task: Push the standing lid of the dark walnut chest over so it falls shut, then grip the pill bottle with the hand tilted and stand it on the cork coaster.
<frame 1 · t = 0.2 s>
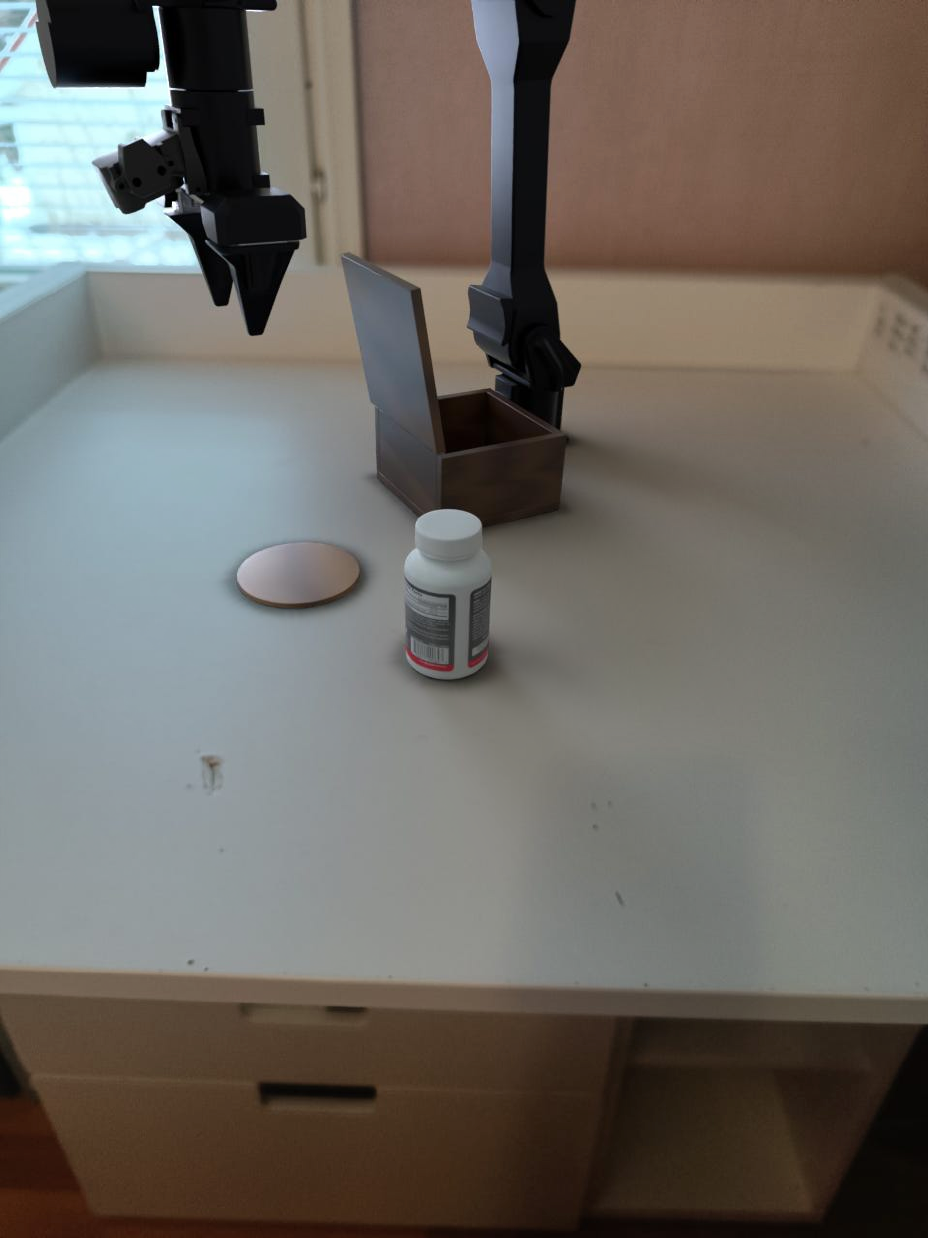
hand: (237, 319, 69), 15 cm above the table, tool pointing down, fingers open, 9 cm apart
chest: (465, 493, 78), on the table
pill bottle: (446, 659, 57), on the table
coaster: (299, 575, 65), on the table
chest lid: (392, 351, 67), point 13 cm above the table, hinge at 100.0°
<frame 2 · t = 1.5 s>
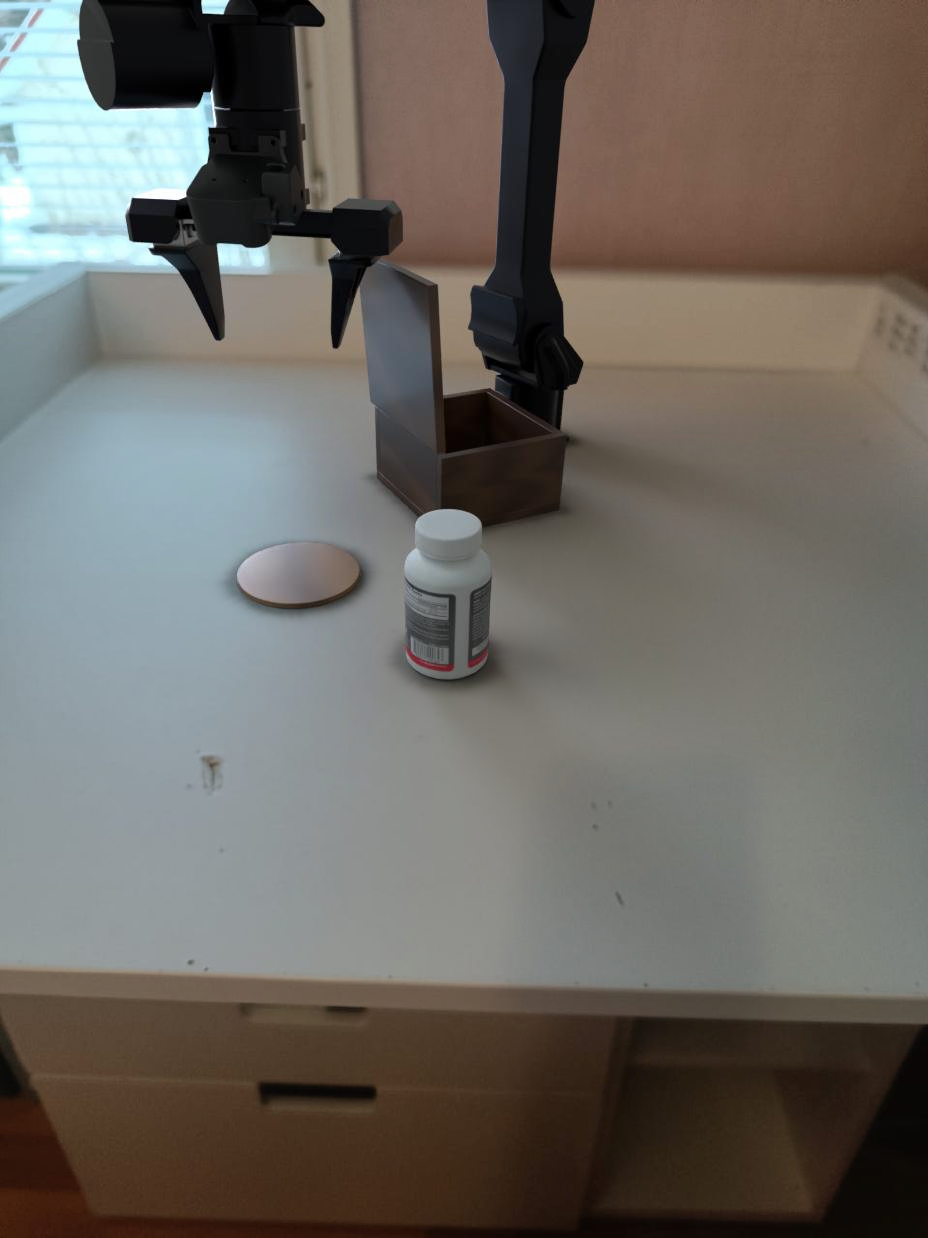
hand: (278, 343, 67), 14 cm above the table, tool pointing down, fingers open, 9 cm apart
chest lid: (400, 349, 68), point 13 cm above the table, hinge at 93.8°
everything else where it was.
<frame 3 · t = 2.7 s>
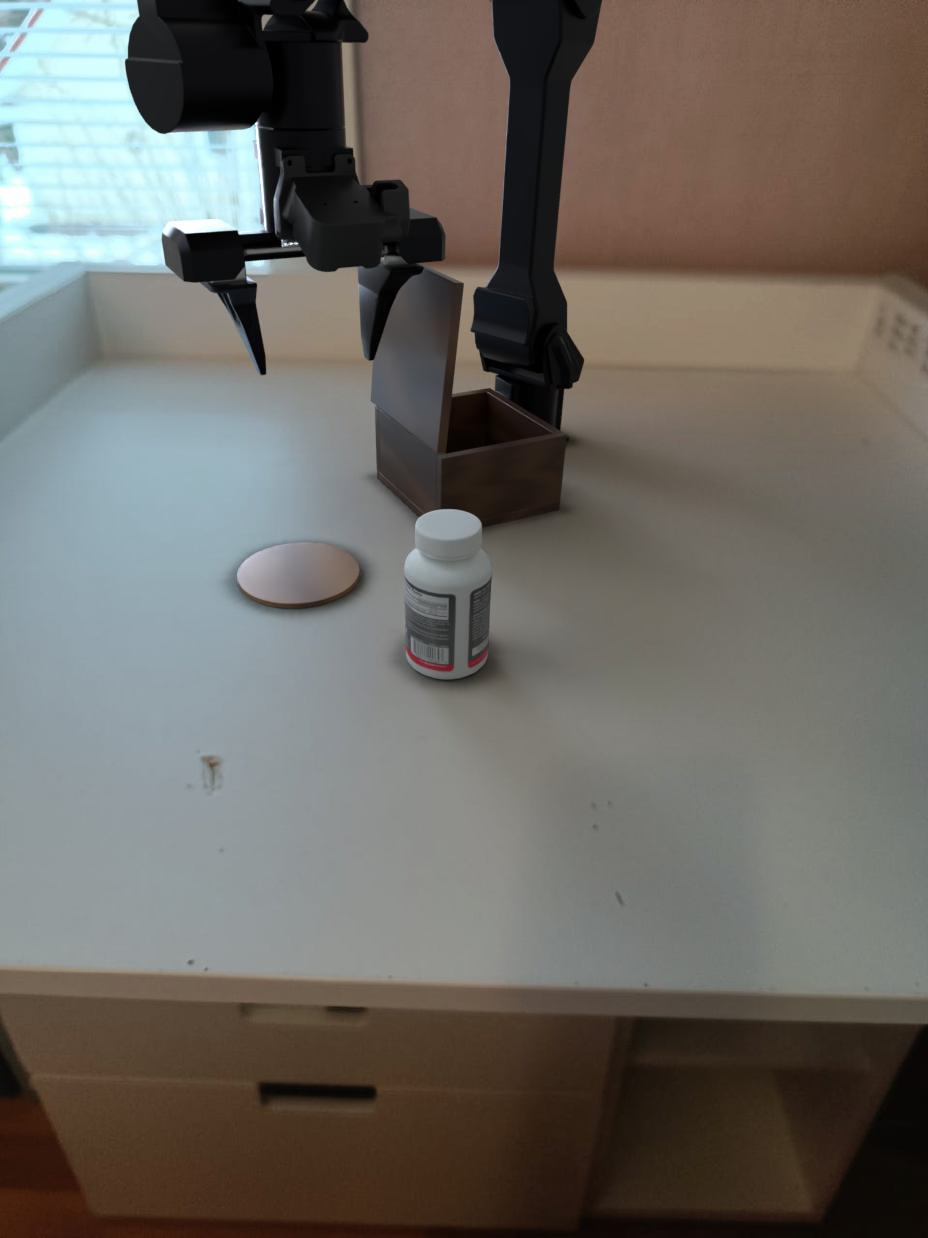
hand: (316, 366, 65), 13 cm above the table, tool pointing down, fingers open, 8 cm apart
chest lid: (412, 348, 68), point 13 cm above the table, hinge at 84.4°
everything else where it was.
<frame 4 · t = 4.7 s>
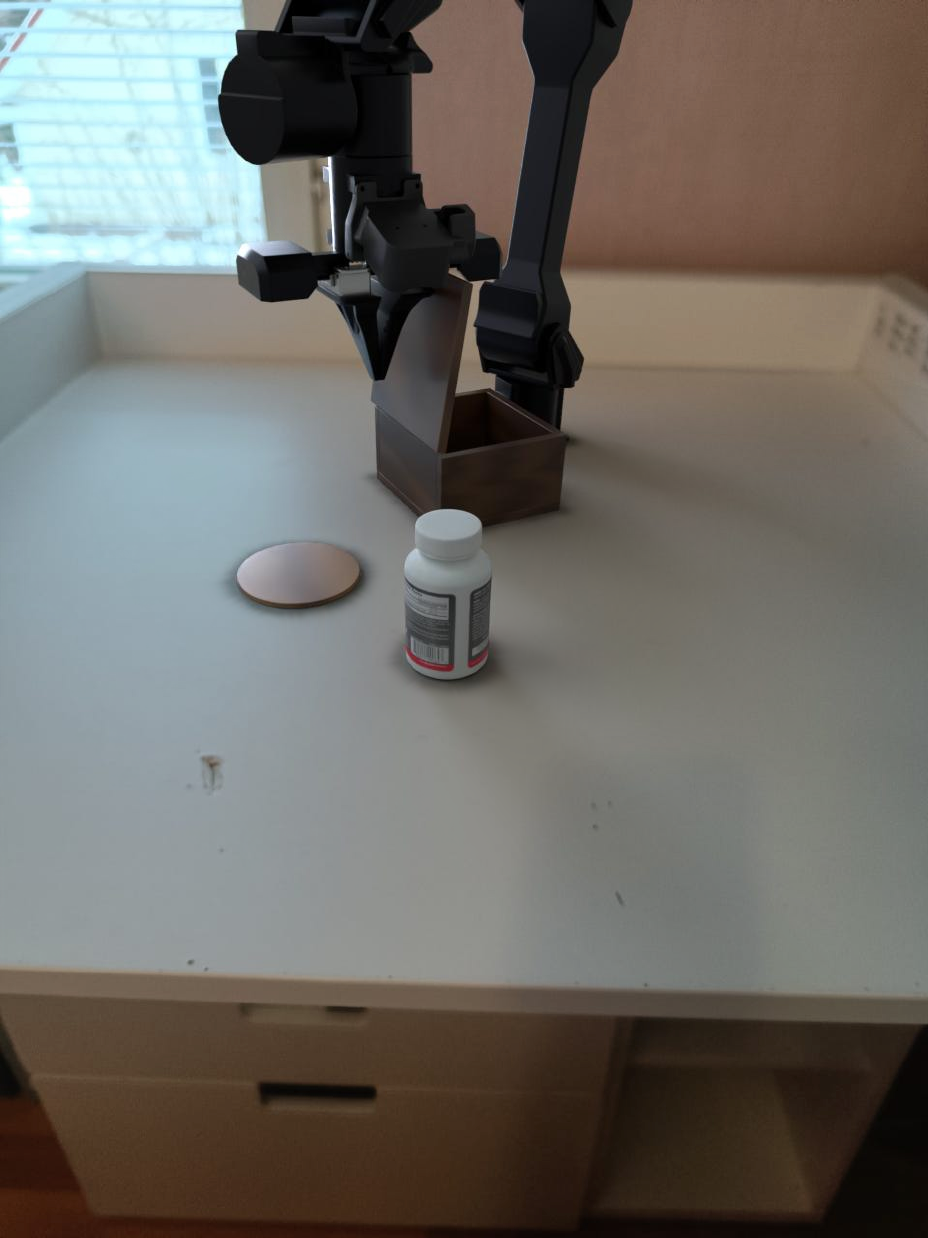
hand: (377, 379, 68), 11 cm above the table, tool pointing down, fingers closed
chest lid: (416, 348, 68), point 13 cm above the table, hinge at 81.0°, touching gripper
everything else where it was.
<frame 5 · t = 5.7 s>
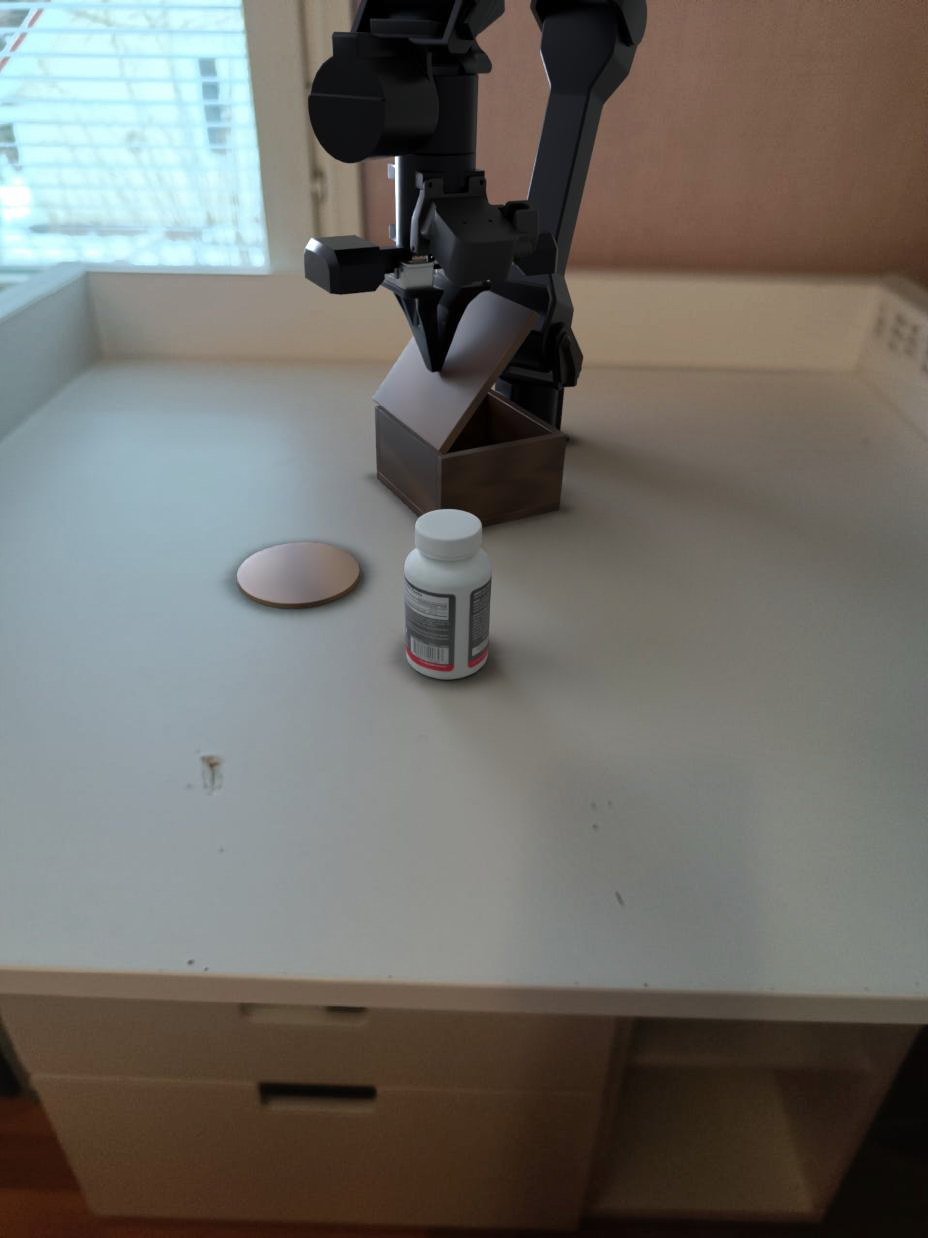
hand: (433, 370, 70), 11 cm above the table, tool pointing down, fingers closed
chest lid: (449, 360, 70), point 12 cm above the table, hinge at 50.6°
everything else where it was.
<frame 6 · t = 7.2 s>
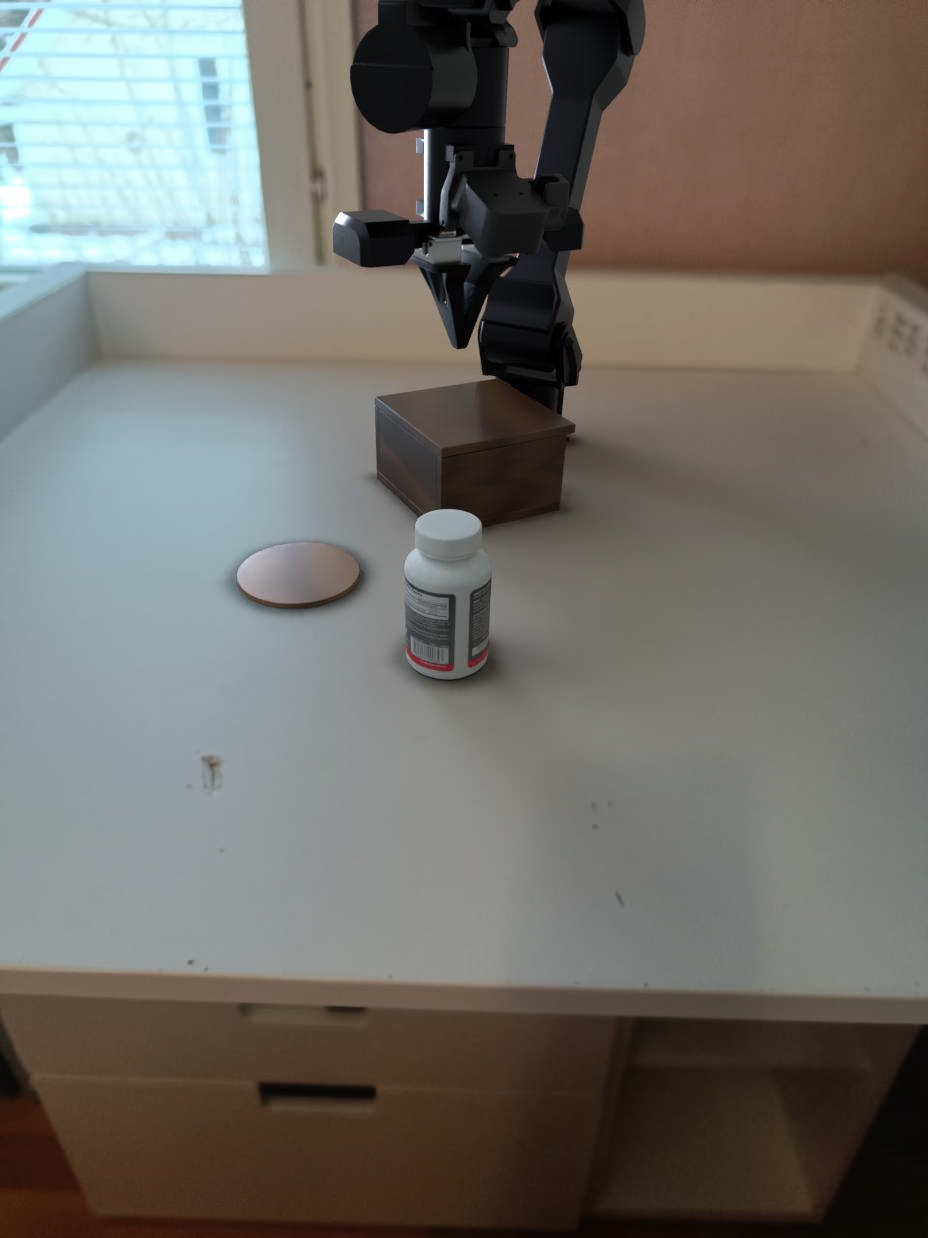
hand: (459, 347, 70), 13 cm above the table, tool pointing down, fingers closed
chest lid: (472, 414, 74), point 7 cm above the table, hinge at -0.2°
everything else where it was.
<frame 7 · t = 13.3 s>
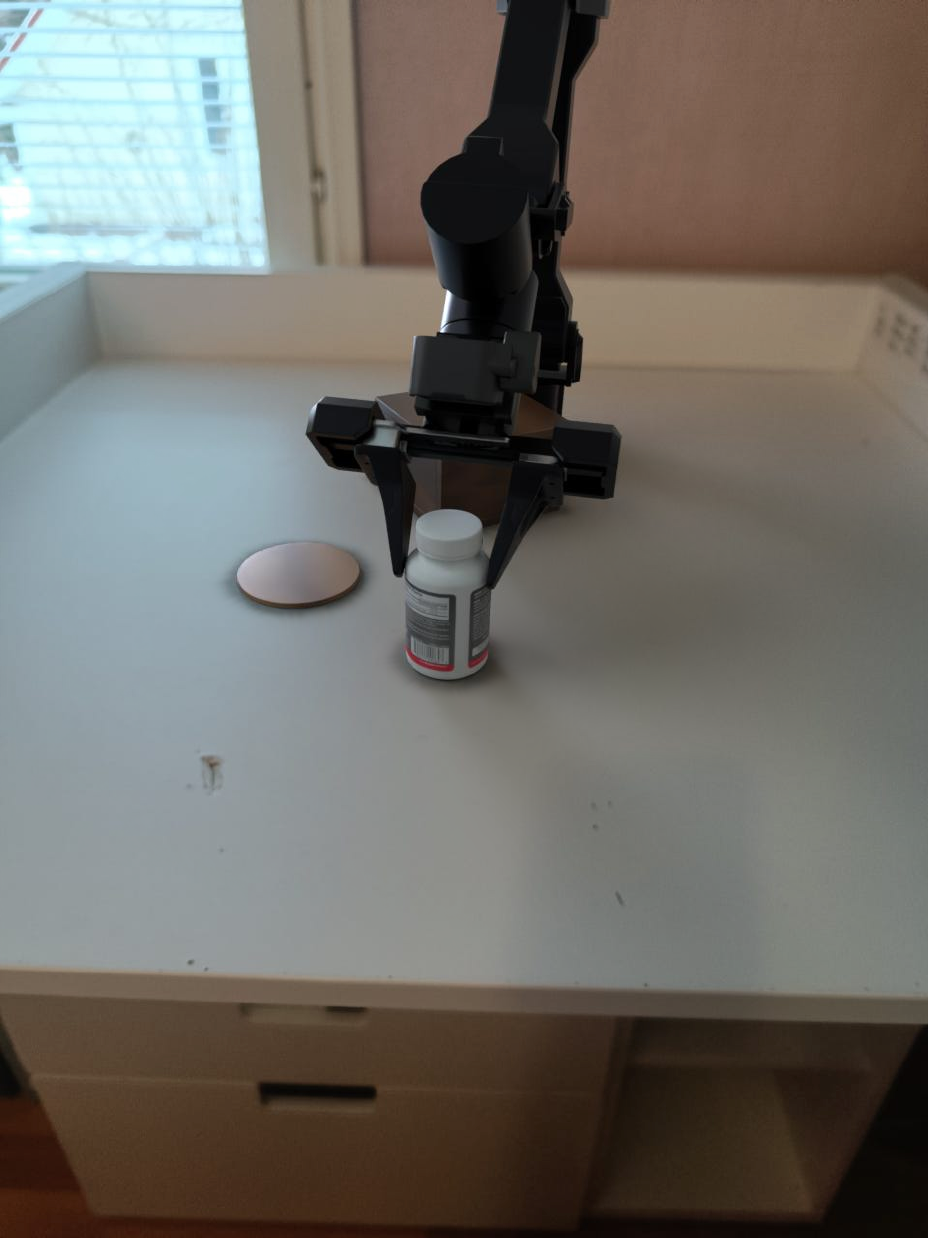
hand: (442, 581, 52), 7 cm above the table, tool tilted 45°, fingers closed on pill bottle, 5 cm apart
pill bottle: (446, 659, 57), on the table, touching gripper
everything else where it was.
when the fingers open (7 cm above the table, at t = 19.6 s): pill bottle stays where it is, resting on coaster.
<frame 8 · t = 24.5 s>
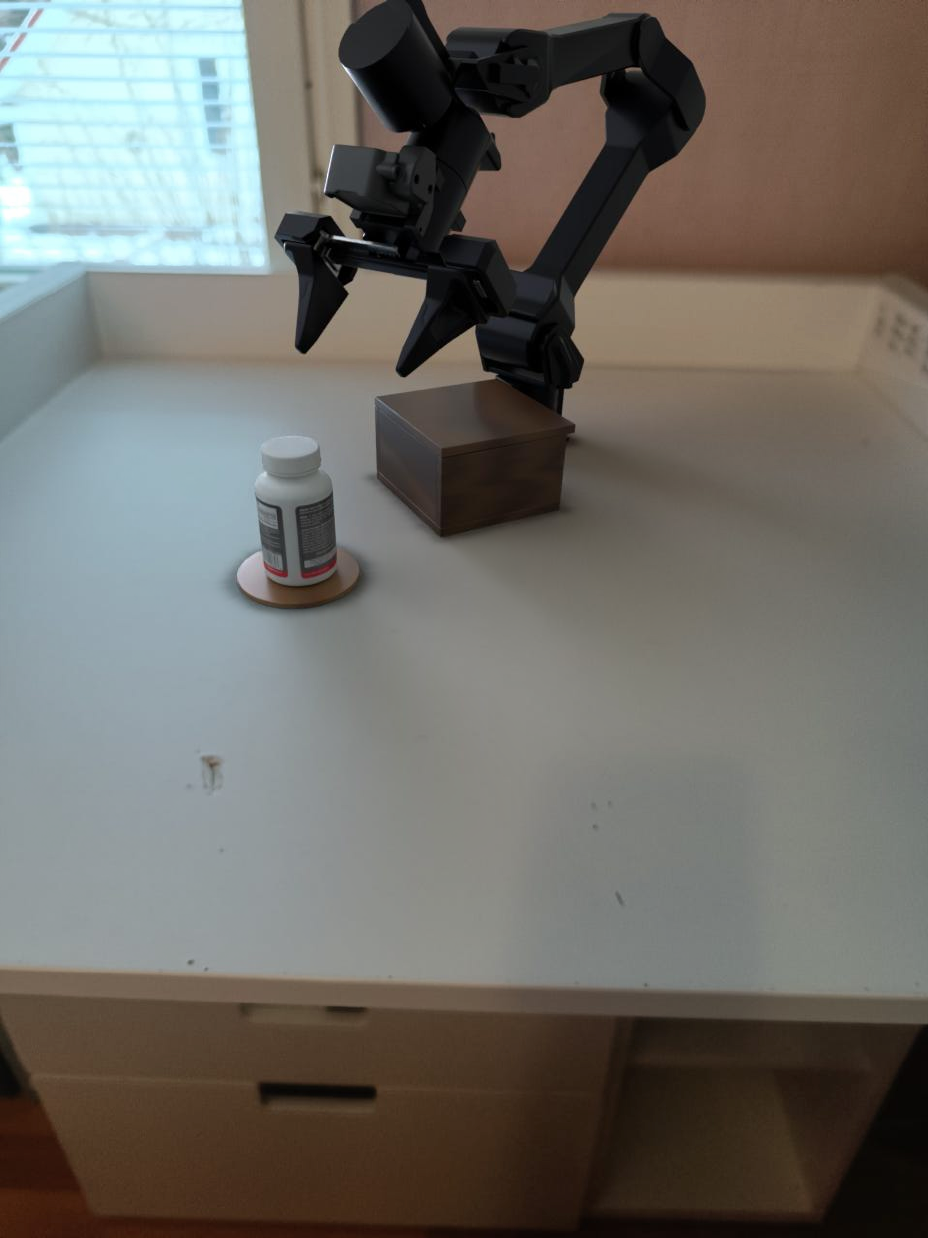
hand: (348, 362, 64), 14 cm above the table, tool tilted 45°, fingers open, 9 cm apart
pill bottle: (301, 572, 65), resting on coaster
everything else where it was.
at the end: chest lid at +0° (first picture: +100°); pill bottle 0.2 cm off-centre on the coaster, point 0.2 cm above the coaster's base; pill bottle tilted 0° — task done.
